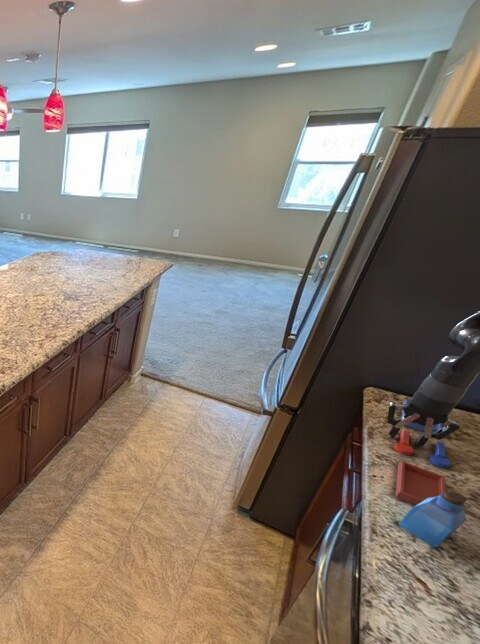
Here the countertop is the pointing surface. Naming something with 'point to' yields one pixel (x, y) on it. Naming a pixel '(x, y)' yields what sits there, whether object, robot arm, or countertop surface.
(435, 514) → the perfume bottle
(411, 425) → the blue tray
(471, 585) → the countertop surface
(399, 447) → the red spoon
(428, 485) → the red tray
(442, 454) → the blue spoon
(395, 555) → the countertop surface
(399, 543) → the countertop surface
